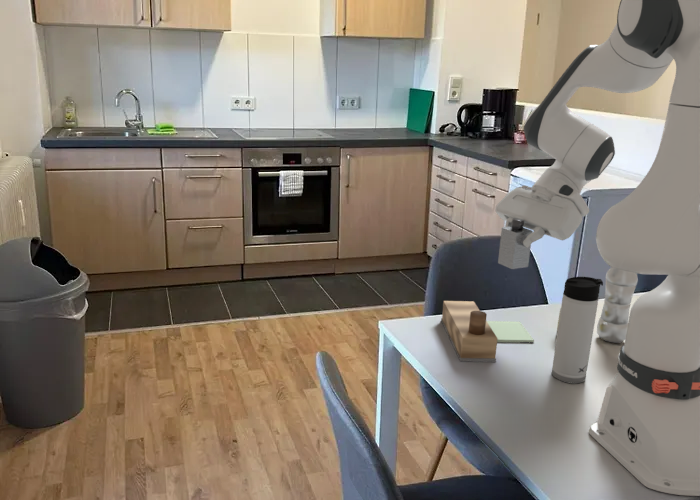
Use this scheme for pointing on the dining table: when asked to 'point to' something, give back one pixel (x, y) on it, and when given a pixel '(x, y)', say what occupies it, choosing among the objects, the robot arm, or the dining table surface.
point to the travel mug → (576, 328)
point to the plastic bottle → (616, 305)
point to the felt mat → (510, 331)
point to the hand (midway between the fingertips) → (513, 241)
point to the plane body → (469, 331)
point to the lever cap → (514, 246)
